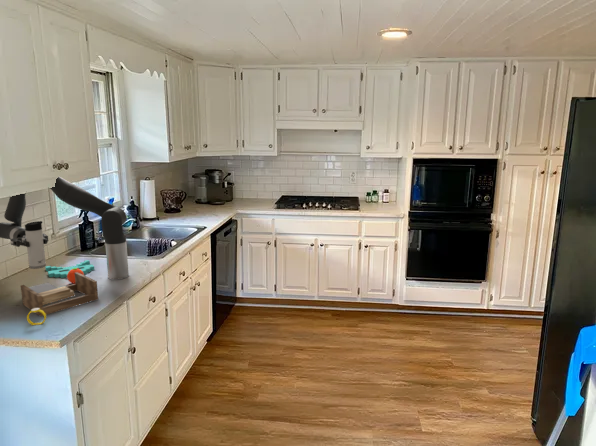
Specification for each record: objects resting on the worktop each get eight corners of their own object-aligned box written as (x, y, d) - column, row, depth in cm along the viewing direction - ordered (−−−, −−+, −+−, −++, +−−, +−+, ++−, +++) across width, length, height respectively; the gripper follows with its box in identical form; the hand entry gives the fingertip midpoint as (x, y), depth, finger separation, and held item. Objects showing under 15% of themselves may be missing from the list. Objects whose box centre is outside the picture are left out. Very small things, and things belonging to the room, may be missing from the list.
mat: (21, 289, 192) (21, 288, 192) (48, 283, 201) (47, 282, 201) (31, 296, 186) (31, 295, 185) (58, 288, 194) (58, 288, 194)
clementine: (67, 281, 203) (65, 266, 202) (83, 279, 207) (82, 264, 205) (68, 286, 197) (67, 271, 195) (85, 284, 200) (84, 269, 199)
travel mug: (44, 268, 188) (39, 223, 184) (27, 269, 186) (22, 223, 182) (48, 264, 194) (44, 220, 189) (32, 264, 192) (27, 220, 188)
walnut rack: (22, 304, 177) (20, 285, 175) (78, 289, 194) (77, 272, 192) (40, 316, 166) (38, 296, 164) (98, 299, 183) (96, 281, 181)
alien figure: (45, 270, 219) (51, 282, 203) (45, 266, 219) (50, 277, 203) (89, 264, 231) (97, 274, 215) (88, 260, 230) (97, 270, 214)
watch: (27, 327, 158) (24, 312, 156) (30, 324, 160) (26, 309, 159) (45, 324, 159) (42, 309, 158) (48, 321, 162) (45, 306, 160)
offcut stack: (36, 302, 179) (35, 293, 179) (68, 293, 190) (67, 285, 189) (42, 306, 176) (41, 297, 176) (74, 296, 186) (73, 288, 186)
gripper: (2, 230, 190) (17, 237, 180) (38, 225, 201) (54, 231, 191) (4, 247, 192) (19, 255, 181) (40, 241, 203) (56, 248, 192)
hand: (37, 243), depth 186 cm, fingers closed on travel mug, 6 cm apart
